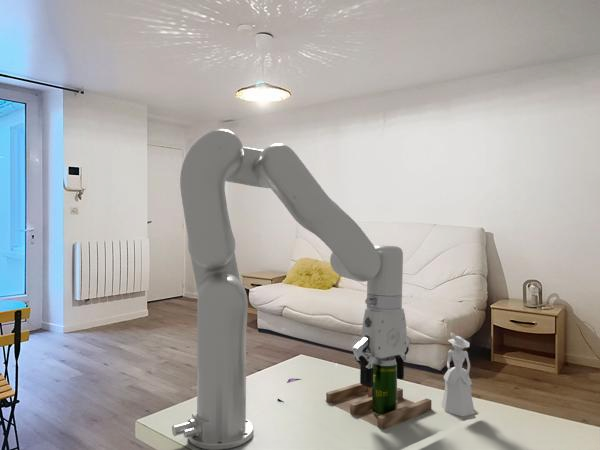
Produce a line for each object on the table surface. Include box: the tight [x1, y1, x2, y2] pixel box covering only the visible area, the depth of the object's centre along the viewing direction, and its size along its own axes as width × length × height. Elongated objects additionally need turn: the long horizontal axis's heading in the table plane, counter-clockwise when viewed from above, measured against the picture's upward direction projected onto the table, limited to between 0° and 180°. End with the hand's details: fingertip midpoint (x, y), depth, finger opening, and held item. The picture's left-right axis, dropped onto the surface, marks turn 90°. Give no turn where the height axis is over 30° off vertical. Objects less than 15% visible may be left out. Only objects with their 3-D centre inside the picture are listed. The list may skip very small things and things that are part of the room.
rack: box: [325, 382, 433, 431], centre depth 97 cm, size 16×18×3 cm
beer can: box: [372, 357, 398, 416], centre depth 92 cm, size 5×5×12 cm
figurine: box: [440, 332, 476, 422], centre depth 95 cm, size 7×8×18 cm
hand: (382, 381), depth 92 cm, fingers open, 9 cm apart
